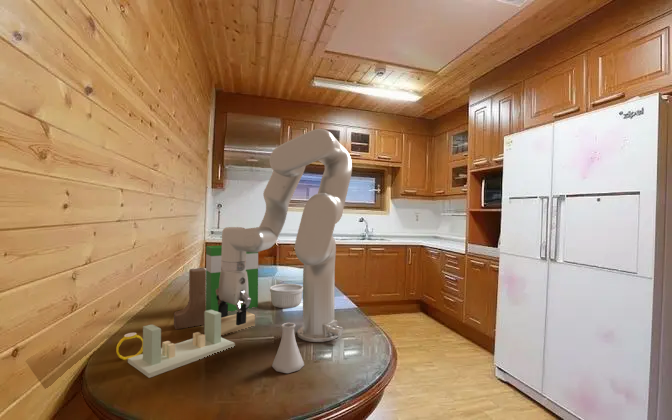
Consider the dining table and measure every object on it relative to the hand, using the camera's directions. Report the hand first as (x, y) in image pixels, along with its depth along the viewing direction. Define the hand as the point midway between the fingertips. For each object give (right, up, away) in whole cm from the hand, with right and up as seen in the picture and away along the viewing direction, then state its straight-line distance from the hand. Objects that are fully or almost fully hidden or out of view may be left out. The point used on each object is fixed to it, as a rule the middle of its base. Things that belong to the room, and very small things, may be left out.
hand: (231, 320), depth 104 cm
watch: (-19, -3, -21) cm, 28 cm away
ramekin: (+13, -3, +28) cm, 31 cm away
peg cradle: (-6, -2, -19) cm, 20 cm away
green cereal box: (-7, -3, +22) cm, 24 cm away
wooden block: (-15, -3, +3) cm, 15 cm away
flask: (+22, -3, -25) cm, 34 cm away
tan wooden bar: (+1, -3, 0) cm, 3 cm away
